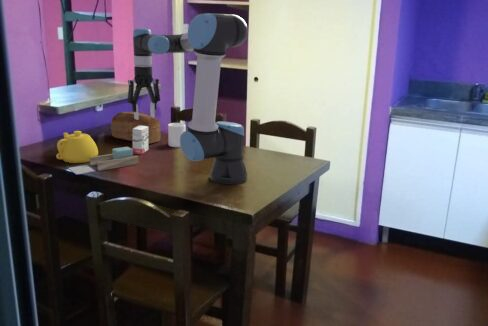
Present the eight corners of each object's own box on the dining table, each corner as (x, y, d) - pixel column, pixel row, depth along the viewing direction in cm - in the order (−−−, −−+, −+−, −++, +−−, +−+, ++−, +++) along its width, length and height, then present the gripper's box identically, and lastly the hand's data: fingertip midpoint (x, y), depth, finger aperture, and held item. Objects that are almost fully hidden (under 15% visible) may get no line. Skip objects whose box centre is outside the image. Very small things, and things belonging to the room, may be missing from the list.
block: (133, 162, 217) (132, 149, 215) (118, 165, 213) (117, 151, 211) (127, 159, 221) (127, 146, 220) (113, 161, 217) (112, 148, 215)
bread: (148, 146, 246) (148, 118, 241) (108, 138, 259) (106, 111, 255) (164, 141, 256) (163, 114, 251) (124, 133, 269) (123, 108, 265)
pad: (95, 171, 205) (95, 171, 205) (76, 174, 200) (76, 174, 200) (86, 165, 213) (86, 164, 212) (68, 168, 208) (68, 167, 208)
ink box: (142, 154, 231) (141, 129, 228) (132, 153, 232) (131, 128, 229) (149, 149, 240) (148, 125, 236) (139, 148, 241) (138, 125, 237)
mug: (192, 143, 254) (192, 122, 251) (179, 148, 244) (179, 127, 240) (178, 141, 257) (177, 120, 254) (165, 146, 247) (164, 125, 244)
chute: (138, 164, 217) (138, 156, 215) (99, 170, 206) (98, 162, 205) (128, 158, 224) (128, 151, 223) (90, 164, 213) (89, 157, 212)
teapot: (105, 159, 222) (104, 131, 219) (66, 167, 209) (64, 138, 205) (82, 150, 235) (80, 124, 232) (44, 157, 222) (41, 130, 218)
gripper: (159, 64, 220) (160, 114, 227) (117, 65, 209) (119, 118, 215) (168, 65, 215) (168, 117, 221) (125, 67, 203) (127, 122, 210)
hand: (144, 118), depth 218 cm, fingers open, 7 cm apart
